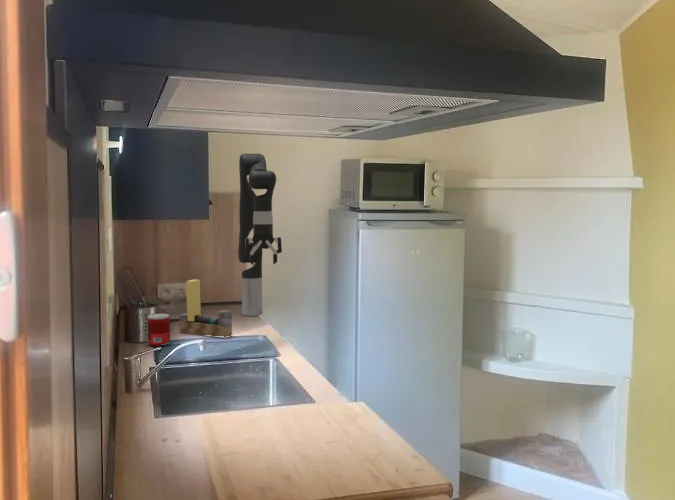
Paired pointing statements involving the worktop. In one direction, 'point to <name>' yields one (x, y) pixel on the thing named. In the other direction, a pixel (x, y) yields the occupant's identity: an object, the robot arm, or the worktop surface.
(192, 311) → the yellow rectangular block
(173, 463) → the worktop surface
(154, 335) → the canned food
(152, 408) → the worktop surface
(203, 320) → the wooden rack
